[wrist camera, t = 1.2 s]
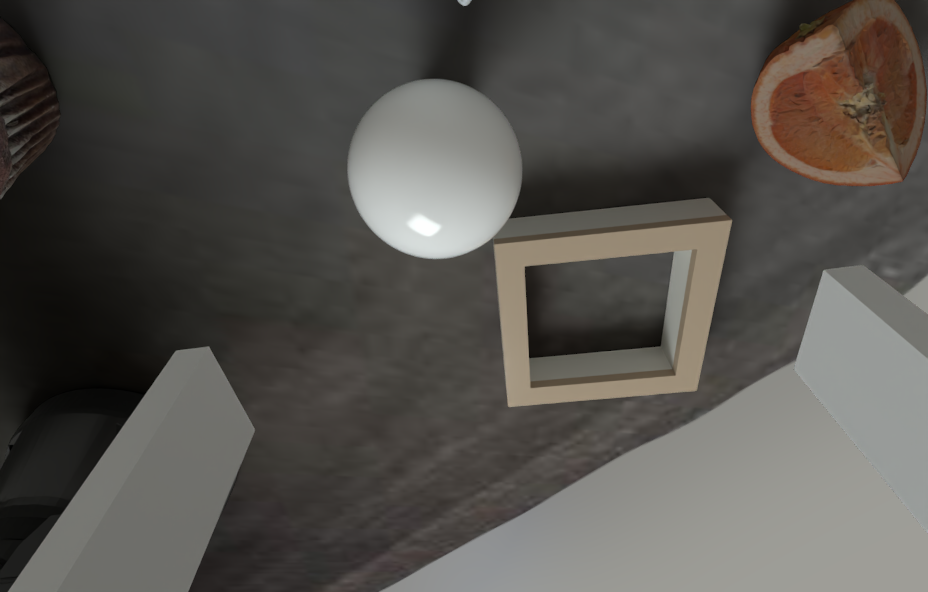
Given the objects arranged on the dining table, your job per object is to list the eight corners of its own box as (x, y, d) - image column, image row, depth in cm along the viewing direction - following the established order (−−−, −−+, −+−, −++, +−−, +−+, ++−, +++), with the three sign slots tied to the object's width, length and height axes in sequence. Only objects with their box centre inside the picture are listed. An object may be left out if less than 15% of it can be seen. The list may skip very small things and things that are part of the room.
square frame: (504, 376, 35) (508, 406, 33) (491, 220, 28) (494, 244, 26) (680, 361, 34) (696, 390, 32) (709, 197, 28) (732, 220, 25)
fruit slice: (705, 59, 24) (757, 82, 20) (852, -55, 21) (946, -56, 17) (775, 185, 27) (831, 227, 23) (907, 100, 25) (996, 129, 21)
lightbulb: (350, 116, 25) (290, 210, 16) (437, 11, 23) (424, 52, 13) (444, 199, 28) (437, 321, 19) (531, 114, 25) (574, 206, 16)
